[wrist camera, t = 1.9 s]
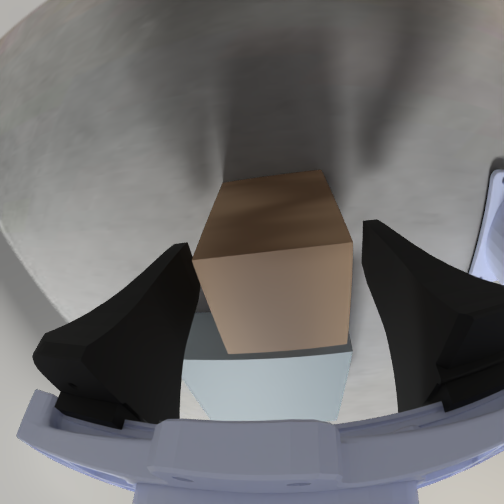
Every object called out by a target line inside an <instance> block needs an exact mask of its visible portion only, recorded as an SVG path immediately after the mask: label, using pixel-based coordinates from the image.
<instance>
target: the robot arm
mask: <svg viewBox="0 0 504 504" xmlns="http://www.w3.org/2000/svg"><path fill="white" fill-rule="evenodd" d="M503 177H504V170H501V169H497V170H494V171H493V172H492V174H491V177H490V184H489V190H488V196H487V202H486V207H485V213H484V217H483V222H482V227H481V231H480V235H479V239H478V243H477V247H476V251H475V254H474V258H473V261H472V265H471V268H470V271H469V274H468V273H466V272H464V271H461V270H459V269H457V268H454V267H452V266H450V265H448V264H446V263H445V262H443V261H441V260H439V259H437V258H435V257H433V256H432V255H430V254H428V253H427V252H425V251H424V250H422V249H420V248H419V247H417V246H416V245H414V244H413V243H411V242H410V241H408V240H407V239H405V238H404V237H402V236H401V235H400V234H398V233H397V232H395V231H394V230H392V229H391V228H390V227H388V226H387V225H385V224H384V223H382V222H381V221H379V220H367V221H363V241H362V266H363V270H364V274H365V277H366V281H367V284H368V287H369V289H370V292H371V294H372V297H373V299H374V302H375V304H376V307H377V309H378V312H379V315H380V317H381V320H382V323H383V325H384V329H385V332H386V336H387V340H388V344H389V349H390V354H391V359H392V365H393V370H394V377H395V384H396V392H397V402H398V413H396V414H391V415H387V416H382V417H377V418H372V419H366V420H361V421H355V422H348V423H342V424H334V425H333V424H331V423H328V422H323V421H319V420H315V419H287V420H266V421H216V420H196V419H180V390H181V379H182V369H183V361H184V354H185V349H186V344H187V340H188V336H189V333H190V329H191V325H192V322H193V318H194V315H195V311H196V307H197V303H198V299H199V292H200V282H199V279H198V276H197V274H196V271H195V268H194V265H193V263H192V258H193V257H192V254H191V251H190V248H189V245H188V242H187V243H179V244H174V245H173V246H171V247H170V248H169V249H168V250H166V251H165V252H164V253H163V254H162V255H161V256H160V257H159V258H157V259H156V260H155V261H154V262H153V263H152V264H151V265H150V266H149V267H148V268H147V269H146V270H145V271H143V272H142V273H141V274H140V275H139V276H138V277H137V278H135V279H134V280H133V281H132V282H131V283H130V284H129V285H127V286H126V287H125V288H124V289H122V290H121V291H120V292H119V293H117V294H116V295H114V296H113V297H112V298H110V299H109V300H108V301H106V302H105V303H103V304H101V305H100V306H98V307H97V308H95V309H94V310H92V311H91V312H89V313H87V314H85V315H84V316H82V317H80V318H78V319H76V320H74V321H72V322H70V323H68V324H66V325H64V326H62V327H59V328H57V329H55V330H52V331H50V332H48V333H45V334H44V336H43V337H42V339H41V341H40V343H39V344H38V346H37V348H36V350H35V351H34V353H33V360H34V364H35V365H36V367H37V368H38V370H39V371H40V372H41V373H42V374H43V375H44V376H45V377H46V378H47V379H48V380H49V381H50V382H51V383H52V384H53V385H54V386H55V387H56V388H57V389H59V390H60V391H61V392H60V395H59V397H57V396H55V395H53V394H51V393H47V392H44V391H41V390H38V389H36V390H35V392H34V394H33V396H32V398H31V400H30V403H29V405H28V407H27V410H26V412H25V415H24V417H23V419H22V422H21V424H20V427H19V430H18V432H17V438H18V439H20V440H21V441H23V442H24V443H26V444H27V445H29V446H30V447H32V448H34V449H35V450H37V451H38V452H40V453H42V454H43V455H45V456H47V457H48V458H50V459H52V460H54V461H56V462H58V463H60V464H62V465H64V466H66V467H69V468H71V469H73V470H75V471H78V472H80V473H83V474H85V475H88V476H90V477H92V478H95V479H98V480H100V481H103V482H106V483H109V484H111V485H114V486H118V487H120V488H123V489H127V490H130V491H133V492H135V494H134V499H133V504H419V500H418V491H417V489H418V488H421V487H424V486H427V485H430V484H433V483H436V482H438V481H441V480H443V479H446V478H448V477H451V476H453V475H456V474H458V473H460V472H462V471H465V470H467V469H469V468H471V467H473V466H475V465H477V464H480V463H482V462H483V461H485V460H487V459H489V458H491V457H493V456H495V455H497V454H499V453H500V452H502V451H504V179H503ZM502 179H503V181H502ZM497 280H498V281H499V282H500V283H501V284H497V283H493V282H492V281H497Z"/></svg>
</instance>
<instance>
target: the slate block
mask: <svg viewBox="0 0 504 504" xmlns="http://www.w3.org/2000/svg"><path fill="white" fill-rule="evenodd" d="M352 352H353V351H352V346H351V341H350V336H349V331H348V339H347V344H344V345H336V346H328V347H319V348H310V349H300V350H289V351H276V352H261V353H242V354H228V352H227V350H226V348H225V345H224V343H223V340H222V338H221V335H220V333H219V331H218V328H217V326H216V323H215V321H214V318H213V316H212V313H211V312H205V313H195V315H194V318H193V322H192V325H191V329H190V333H189V336H188V340H187V344H186V349H185V354H184V361H183V369H182V379H183V381H184V382H185V384H186V385H187V387H188V388H189V390H190V391H191V393H192V394H193V396H194V397H195V398H196V400H197V401H198V403H199V404H200V406H201V407H202V409H203V410H204V411H205V413H206V414H207V416H208V417H209V418H210V420H216V421H266V420H287V419H315V420H319V421H323V422H326V421H335V420H337V417H338V414H339V410H340V406H341V402H342V398H343V394H344V389H345V385H346V381H347V376H348V372H349V367H350V362H351V357H352Z"/></svg>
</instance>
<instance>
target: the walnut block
mask: <svg viewBox="0 0 504 504" xmlns="http://www.w3.org/2000/svg"><path fill="white" fill-rule="evenodd" d="M352 262H353V241H352V239H351V236H350V234H349V231H348V229H347V226H346V224H345V222H344V219H343V217H342V215H341V212H340V210H339V208H338V205H337V203H336V201H335V199H334V196H333V194H332V192H331V190H330V188H329V185H328V183H327V181H326V179H325V177H324V175H323V173H322V170H313V171H304V172H296V173H287V174H279V175H272V176H264V177H257V178H250V179H244V180H237V181H231V182H225V183H222V186H221V188H220V190H219V193H218V195H217V198H216V200H215V202H214V205H213V207H212V210H211V212H210V215H209V217H208V220H207V222H206V225H205V227H204V230H203V232H202V235H201V237H200V240H199V243H198V245H197V248H196V250H195V253H194V256H193V258H192V263H193V265H194V268H195V271H196V274H197V276H198V279H199V282H200V284H201V287H202V290H203V292H204V295H205V298H206V300H207V303H208V305H209V308H210V310H211V313H212V316H213V318H214V321H215V323H216V326H217V328H218V331H219V333H220V335H221V338H222V340H223V343H224V345H225V348H226V350H227V352H228V354H242V353H261V352H276V351H289V350H300V349H310V348H319V347H328V346H336V345H344V344H347V339H348V329H349V317H350V303H351V286H352Z"/></svg>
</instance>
